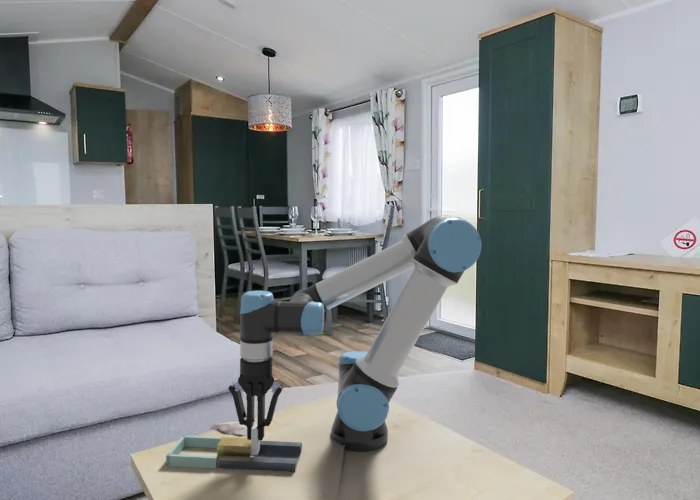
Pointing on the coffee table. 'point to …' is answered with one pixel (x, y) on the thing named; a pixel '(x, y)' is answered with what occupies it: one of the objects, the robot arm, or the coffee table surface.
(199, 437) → the tray
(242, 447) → the chip
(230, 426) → the stone tool
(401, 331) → the robot arm
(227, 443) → the chip
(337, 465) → the coffee table surface
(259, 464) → the slot board
